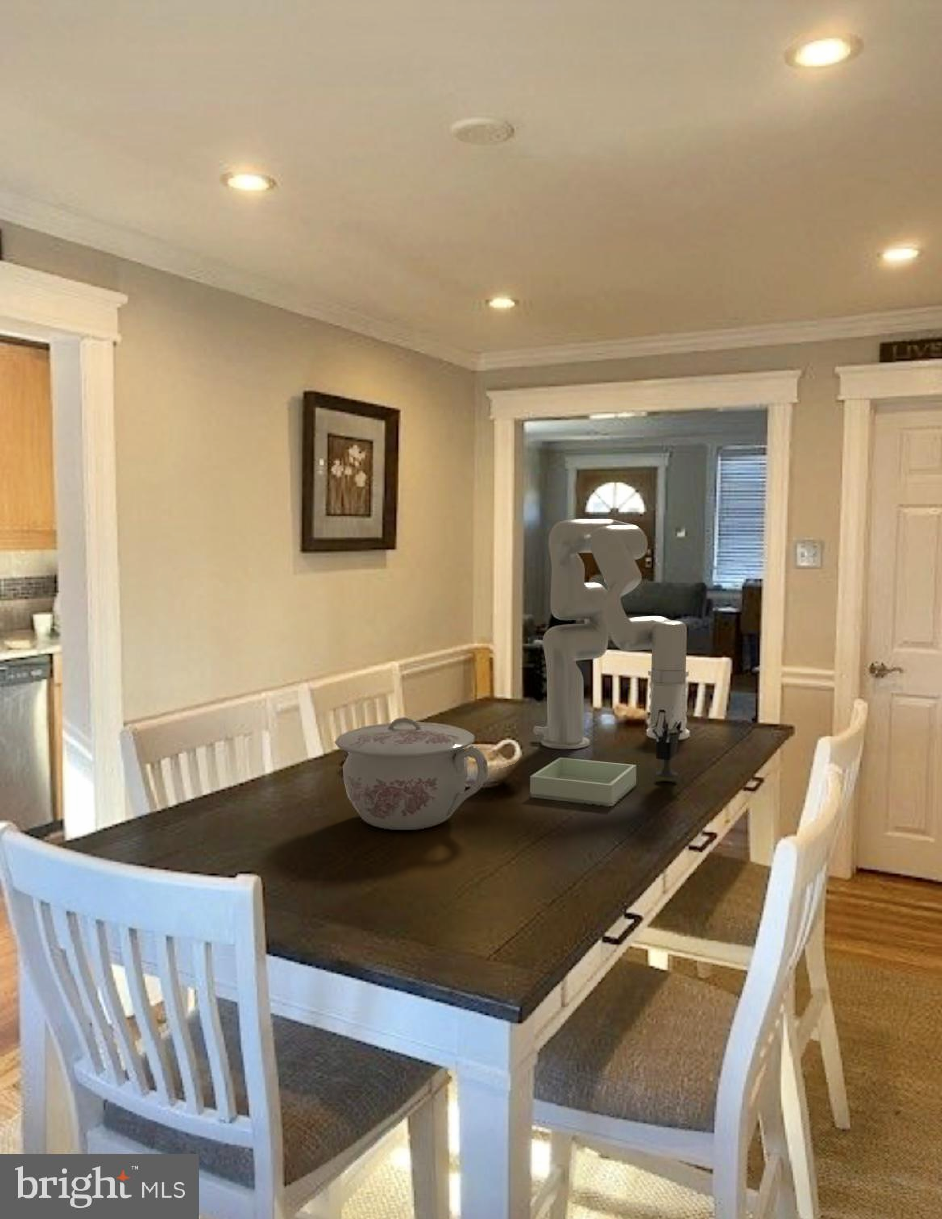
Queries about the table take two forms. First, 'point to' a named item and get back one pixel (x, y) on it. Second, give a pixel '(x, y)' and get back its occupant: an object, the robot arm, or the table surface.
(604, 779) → the box
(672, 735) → the sundae
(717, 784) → the table surface
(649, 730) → the decorative container
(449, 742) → the chamber pot
